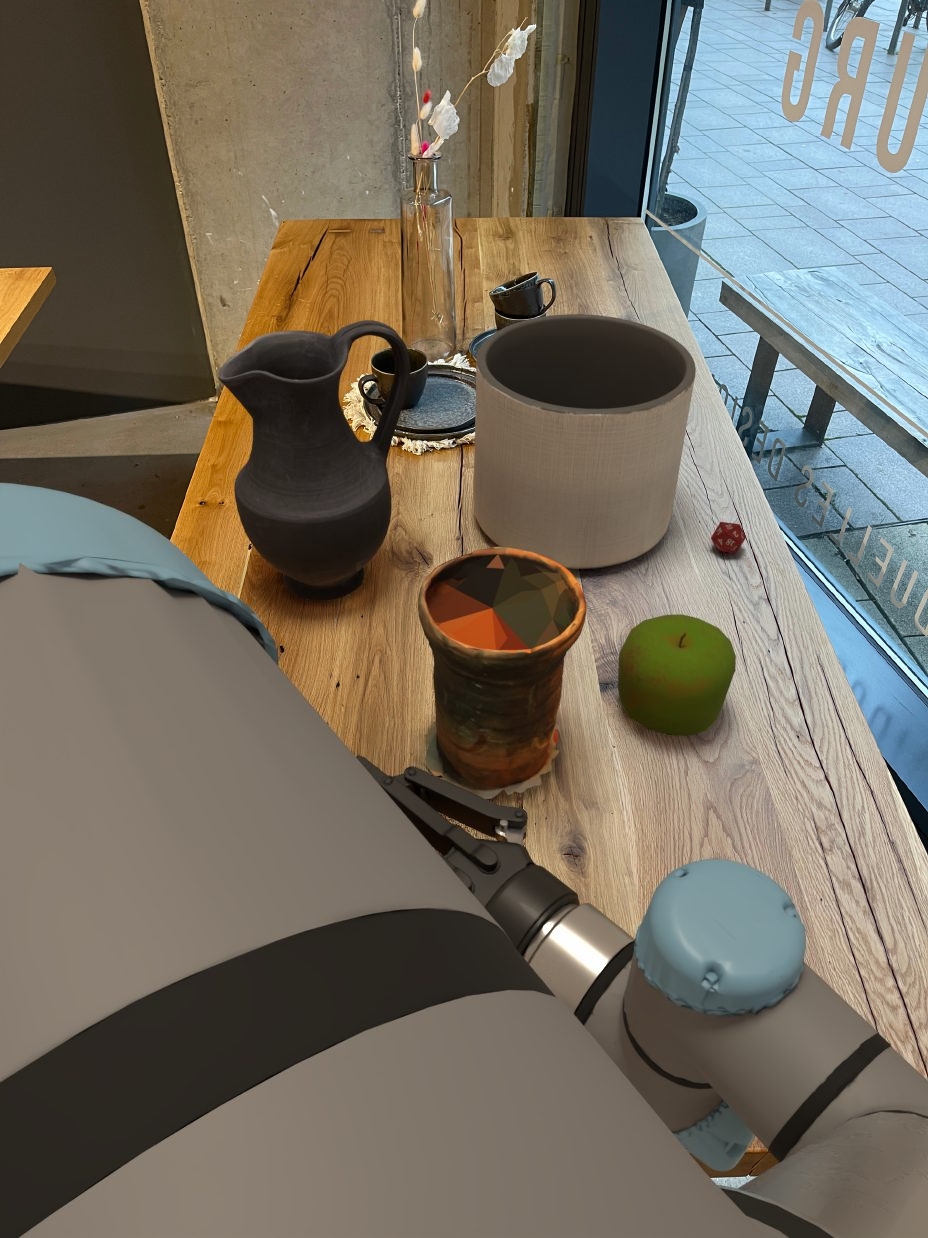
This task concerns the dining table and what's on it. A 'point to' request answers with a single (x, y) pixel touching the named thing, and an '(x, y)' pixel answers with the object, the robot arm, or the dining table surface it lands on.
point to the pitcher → (313, 458)
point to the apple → (675, 674)
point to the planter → (579, 437)
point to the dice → (728, 537)
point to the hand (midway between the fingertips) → (313, 750)
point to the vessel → (497, 665)
